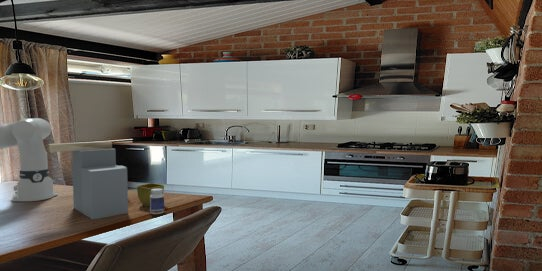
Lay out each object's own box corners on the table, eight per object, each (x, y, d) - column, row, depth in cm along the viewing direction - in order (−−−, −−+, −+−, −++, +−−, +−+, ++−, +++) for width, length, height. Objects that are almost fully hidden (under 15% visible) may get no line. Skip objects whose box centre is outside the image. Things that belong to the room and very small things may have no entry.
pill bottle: (166, 212, 153) (166, 189, 152) (154, 215, 148) (154, 191, 148) (159, 210, 157) (159, 187, 156) (147, 212, 152) (146, 189, 152)
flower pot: (165, 204, 167) (164, 184, 166) (149, 208, 159) (149, 188, 159) (151, 201, 171) (151, 182, 171) (136, 205, 164) (136, 186, 163)
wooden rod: (48, 151, 148) (47, 144, 148) (108, 147, 165) (108, 141, 164) (50, 152, 145) (50, 144, 145) (111, 148, 162) (111, 141, 162)
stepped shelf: (73, 208, 159) (71, 149, 158) (106, 202, 169) (105, 147, 168) (92, 219, 142) (90, 153, 141) (128, 212, 152) (126, 151, 150)
